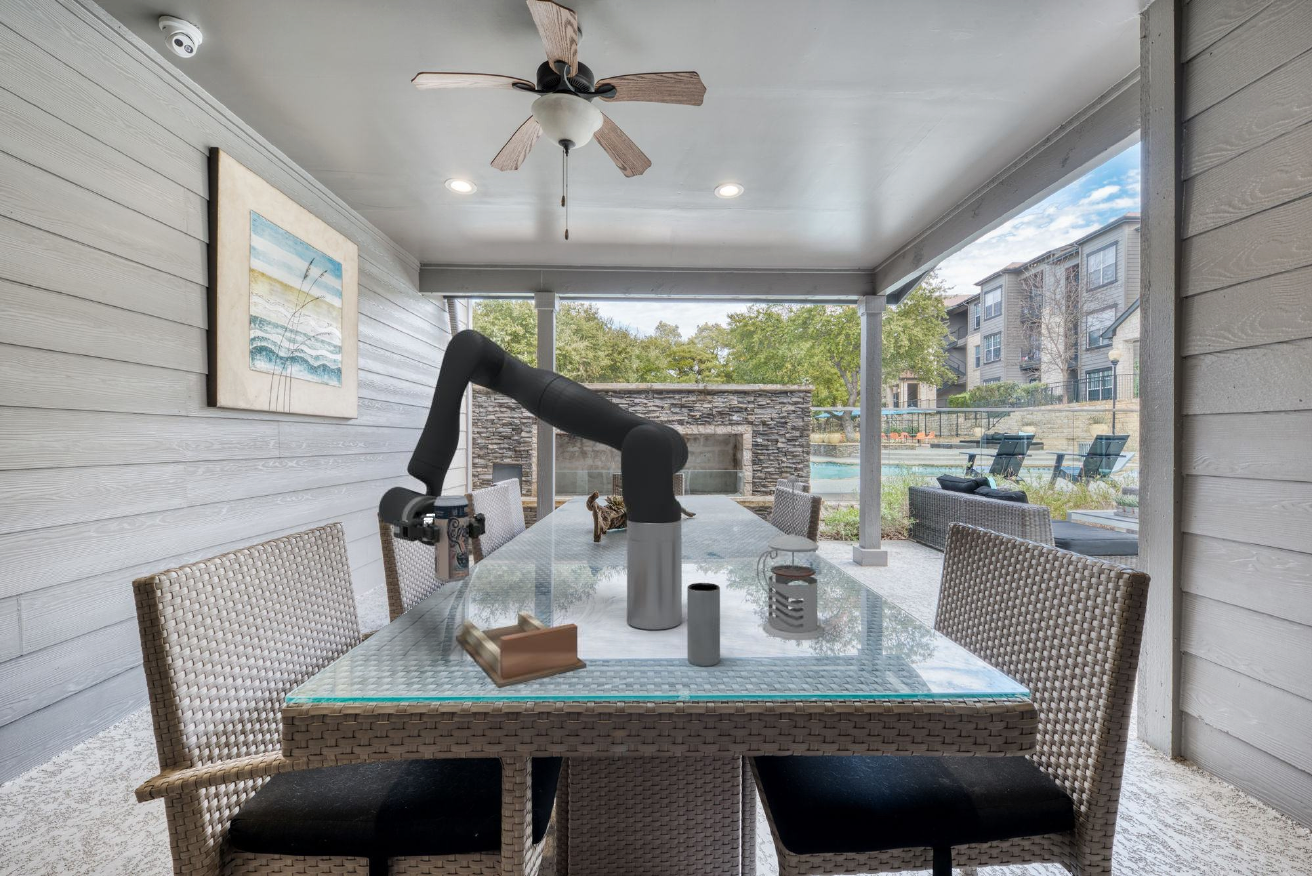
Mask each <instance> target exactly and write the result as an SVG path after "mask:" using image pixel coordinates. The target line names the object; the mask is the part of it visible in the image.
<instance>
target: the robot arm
mask: <svg viewBox="0 0 1312 876" xmlns="http://www.w3.org/2000/svg"><path fill="white" fill-rule="evenodd" d="M469 383H471V384H474V385H477V386H478V387H482V388H485V389H488V390H489V391H493V392H495V393H498V394H500V395H504V396H506V397H508V398H510V399H511V400H513V401H515V402H517V404H518V405H520V406H521V407H522V408H523V409H525V411H527V412H528V413H530V415H533V416H534V417H536V418H537V419H538V420H540V421H542V422H544V423H545V424H548V425H549V426H551V427H553V428H555V429H558V430H559V431H562V432H564V433H565V434H568V435H572V436H575V437H578V438H581V439H585V440H587V441H590V442H595V443H598V444H602V445H604V446H607V447H610V448H612V449H615V450H616V451H618V452H620V475H621V497H622V502H623V505H624V507H625V511H626V593H627V594H626V622H627V624H628V625H629V626H631V627H634V628H638V629H641V630H642V629H643V630H666V629H671V628H674V627H677V626H679V625H680V624H682V616H683V613H682V612H683V611H682V610H683V609H682V608H683V606H682V605H683V603H682V601H683V600H682V598H683V590H682V588H683V575H682V573H683V569H682V568H683V567H682V563H683V561H682V559H683V558H682V554H683V553H682V547H683V546H682V540H683V539H682V505H681V503H680V502H679V500H677V498H676V496H675V491H674V475H676V474H678V473H679V472H681V471H682V470H683V469H684V467H686V465H687V463H688V460H689V447H688V444H687V441H686V440H685V438H684V437H683V435H682V434H681V433H680V432H679V431H678V430H677V429H675V428H674V427H672V426H669V425H667V424H666V425H665V424H664V423H660V422H657V421H654V420H651V419H648V418H646V417H644V416H641V415H638V414H636V413H633V412H632V411H629V410H627V409H625V408H623V407H621V406H620V405H618V404H617V403H614V402H613V401H612V400H610V399H608V398H607V397H604V395H601V394H599V393H597V392H596V391H594V390H592V389H590V388H588V387H586V386H585V385H584V384H582V383H579V382H578V381H575V380H574V379H571V378H569V377H567V376H565V375H562V374H560V373H558V372H555V371H551V370H547V369H542V368H536V367H534V366H532V365H528V364H526V363H525V362H523V361H521V360H520V359H518V358H517V357H515V356H514V355H512V354H511V353H510V352H508V351H506V350H505V349H504V348H503V347H502V346H500V345H499V344H497V343H496V342H495V341H494V340H492V339H490V338H489V337H487V336H486V335H485V334H483V333H482V332H479V331H478V330H475V329H471V328H470V329H469V328H468V329H462V330H460V331H459V332H457V333H456V334H454V335H453V336H452V338H451V339H450V341H449V342H448V344H447V346H446V348H445V352H444V354H443V358H442V360H441V365H440V370H439V373H438V378H437V380H436V384H435V389H434V393H433V396H432V400H431V406H430V408H429V411H428V415H427V419H426V421H425V425H424V427H423V430H422V432H421V434H420V437H419V438H418V442H417V443H416V446H415V447H414V450H413V452H412V455H411V457H410V459H409V461H408V465H407V468H406V469H407V470H406V471H407V473H408V474H409V475H410V476H411V477H413V478H414V479H416V480H418V481H419V482H422V483H423V484H424V485H425V488H426V492H425V494H424V493H421V492H419V491H415V490H412V489H410V488H406V487H402V486H395V487H394V486H393V487H392V488H389V489H388V490H387V491H386V492H385V493H383V495H382V496H381V499H380V501H379V505H378V514H379V516H380V519H381V521H383V522H384V523H386V524H389V525H391V526H393V538H395V539H400V540H403V541H407V542H413V543H414V542H416V541H417V542H419V543H421V544H423V545H425V546H429V547H435V543H439V542H440V528H439V527H438V526H436V525H435V522H434V503H435V501H436V499H437V497H440V496H442V492H443V487H444V484H445V483H444V482H445V479H446V476H447V473H448V470H449V468H450V466H451V464H452V462H453V459H454V457H455V455H456V452H457V449H458V445H459V441H460V431H461V429H460V428H461V427H460V426H461V408H462V403H463V402H462V401H463V398H464V395H465V392H466V389H467V388H468V386H469ZM485 534H486V516H485V513H482V512H479V513H476V514H473V518H472V517H471V518H469V539H472V540H477V539H479V536H482V535H485Z"/></svg>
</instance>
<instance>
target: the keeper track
mask: <svg viewBox="0 0 1312 876" xmlns="http://www.w3.org/2000/svg"><path fill="white" fill-rule="evenodd" d="M455 640H456V642H458V643H459V644H460V646H461V647H462V648H463V649H464V650H465V651H466V652H467V653H468V654H469V656H470V657H471V658H472V659H473V660H474V661H475V663H476V664H478V665H479V667H480V668H481V669H482V670H483V671H484V672H485V674H486V675H487V676H488V677H489V678H490V679H491V680H492V682H493V683H494V684H495V685H496V686H497V687H498V688H504V687H508V686H513V685H515V684H516V685H517V684H521V683H524V682H529V681H533V680H537V679H541V678H546V677H550V676H554V675H557V674H563V673H567V672H571V671H575V670H579V669H584V668H587V663H586V662H585V661H584V660H582V659H581V658H580V657H578V652H579V651H578V647H579V646H578V625H576V624H575V623H568V624H564V625H563V624H562V625H557V626H551V627H548V626H547V625H545V624H544V623H543V622H541V621H540V620H538V619H537V618H535V617H534V616H532V615H531V614H529V612H527V611H525V610H524V611H519V612H517V624H514V625H513V624H512V625H508V626H502V627H496V628H490V629H486V630H480V629H479V628H478V627H477V626H476V625H475V624H474V623H473V622H472V621H471V620H464V621H461V634H458V635H457V634H456V635H455Z"/></svg>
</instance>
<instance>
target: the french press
mask: <svg viewBox="0 0 1312 876" xmlns="http://www.w3.org/2000/svg"><path fill="white" fill-rule="evenodd" d="M786 482H787V483H789V484H792V485H791V487H792V488H791V489H792V496H791V497H792V498H791V499H792V500H791V501H792V502H791V503H792V504H791V505H792V508H791V509H792V511H791V513H792V515H791V516H792V519H791V521H792V524H791V526H792V530H791V531H792V533H790V534H786V535H783V536H778V537H775V538H773V539H772V540H770V541H769V542H767V546H768V547H769V548H770V549H772V550H769V549H768V550H766V551H764V552H762V554H760V556H759V558H758V560H757V564H756V576H757V580H758V584H759V586H760V587H761V588H762V590H763V591H764V592H765V593H766V594H767V596H768V621H766V622H765V623H764V624H763V625H762V629H761V630H762V631H763V632H765V633H766V634H768V635H770V636H772V637H775V638H780V639H784V640H793V641H808V640H809V641H810V640H814V639H819V638H821V637H822V636H824V635H825V631H823V630H824V629H823V628H822V627H821V625H819V624H818V579H817V578H816V577H814V575H816V573H817V572H816V570H815V568H812V567H811V566H804V565H798V564H795V563H794V562H795V558H794V556H795V555H794V554H795V553H810V552H816V551H818V549H819V548H820V546H819V544H817V543H816V542H815V541H814V540H811V539H810V538H808V537H805V536H802V535H801V536H800V535H797V534H795V533H794V531H795V529H794V527H795V525H794V524H795V523H794V522H795V520H794V518H795V515H794V514H795V513H794V511H795V509H794V508H795V505H794V503H795V502H794V501H795V498H794V496H795V495H794V494H795V493H794V489H795V488H794V487H795V485H794V484H799V483H800V481H799V477H798V476H796V475H793V474H792V475H789V476H788V477H787V480H786ZM774 551H775V556H774V557H772V552H774ZM778 551H779V552H789V553H792V554H791V555H792V556H791V557H792V559H791V563H792V564H780V565H774V566H772V567H771V568H770V572H771V573H772V574H774V575H775V578H774V579H775V581H773V575H771V576H768V581H767V578H766V573H765V569H766V567H765V566H766V560H767V557H768V556H769V557H770V559H771V560H775V559H776V558H778ZM765 554H766V555H765ZM764 555H765V557H764V560H763V564H762V565H763V567H762V568H763V569H762V574H763V577H764V580H765V583H766V584H765V585H767V587H768V591H767V590H766V589H765V587H764V586H763V585H762V583H761V580H760V575H759V564H760V561H761V559H762V557H763V556H764ZM800 581H801V582H803V583H807V584H790V583H793V582H800ZM774 598H775V600H773V599H774ZM789 599H792V600H791V601H789ZM774 606H775V607H774ZM773 614H775V616H773ZM823 634H824V635H823ZM818 637H819V638H818Z"/></svg>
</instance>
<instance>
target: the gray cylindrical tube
mask: <svg viewBox="0 0 1312 876" xmlns="http://www.w3.org/2000/svg"><path fill="white" fill-rule="evenodd" d="M686 591H687V594H686V595H687V596H686V597H687V602H686V603H687V606H686V607H687V608H686V609H687V614H686V615H687V624H686V625H687V628H686V629H687V640H686V641H687V649H686V650H687V651H686V652H687V661H688V662H689V663H690V664H692V665H693V666H694V665H695V666H699V667H711V666H715V665H717V664H719V663H720V661H721V587H720V585H718V584H715V583H711V582H710V583H709V582H694V583H691V584H689V585H688V586H687V590H686Z"/></svg>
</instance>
